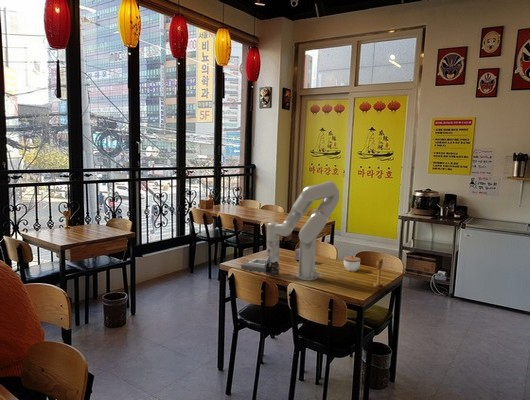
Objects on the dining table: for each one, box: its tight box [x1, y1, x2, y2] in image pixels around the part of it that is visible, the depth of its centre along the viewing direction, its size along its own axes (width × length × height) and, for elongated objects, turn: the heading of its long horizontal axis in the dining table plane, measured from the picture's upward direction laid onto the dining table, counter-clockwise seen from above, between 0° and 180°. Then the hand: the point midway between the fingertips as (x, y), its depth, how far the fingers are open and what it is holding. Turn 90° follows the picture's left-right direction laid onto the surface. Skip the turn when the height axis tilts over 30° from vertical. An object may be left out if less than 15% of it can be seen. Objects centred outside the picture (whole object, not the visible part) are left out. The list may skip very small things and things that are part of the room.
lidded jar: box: [343, 255, 362, 272], centre depth 259 cm, size 11×11×9 cm
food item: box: [294, 247, 300, 261], centre depth 278 cm, size 14×8×10 cm, turn 44°
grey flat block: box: [240, 258, 266, 274], centre depth 258 cm, size 18×16×4 cm
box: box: [264, 262, 280, 277], centre depth 244 cm, size 6×6×7 cm
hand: (271, 270), depth 244 cm, fingers open, 9 cm apart
